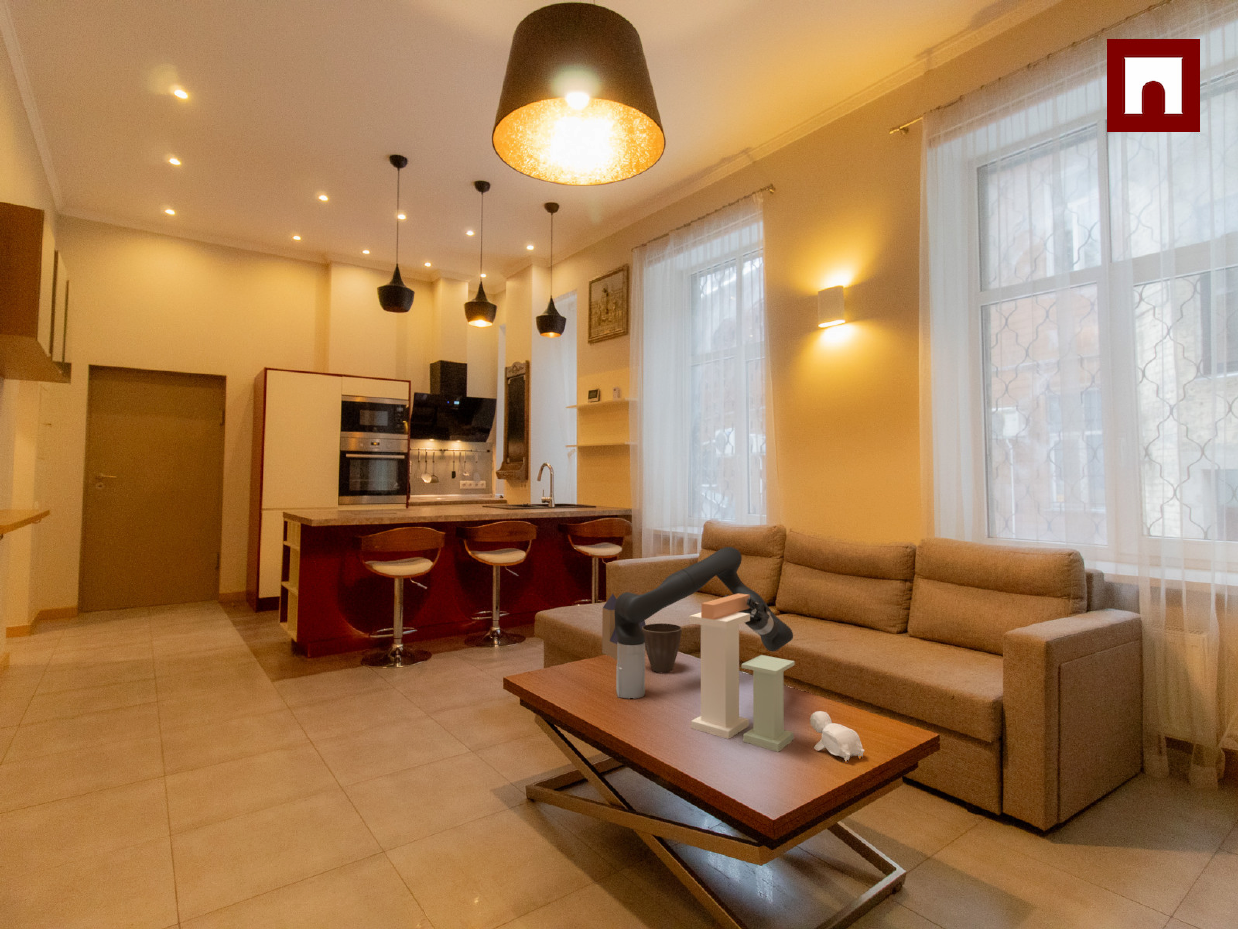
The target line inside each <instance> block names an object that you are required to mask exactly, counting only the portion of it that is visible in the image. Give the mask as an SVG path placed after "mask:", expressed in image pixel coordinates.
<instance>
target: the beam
mask: <svg viewBox="0 0 1238 929" xmlns="http://www.w3.org/2000/svg"><path fill="white" fill-rule="evenodd" d="M748 598H750V595H747V594H739V593H738V594H732V595H728V596H727V597H724V596H723V597H720V598H716V599H713V600H710V601H704V602H701V604H700V605H701V606H700V607H701V610H700V612H701V618H707V619H713V620H714V619H717V618H720V617H723V616H727V615H730V614H733V613H736V612H739V611H742V610H745V609H748V608H750V607H749V606H748V605H747V599H748Z"/></svg>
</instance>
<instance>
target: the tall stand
mask: <svg viewBox="0 0 1238 929" xmlns="http://www.w3.org/2000/svg"><path fill="white" fill-rule="evenodd" d="M688 620H689V623H688V624H694V625H700V716H698V717H696V718H693V719H692V720H691V721H690V728H691V729H693V730H696V731H700V732H704V733H706V732H707V734H710V735H713V736H715V737H720V738H724V739H727V740H729V739H731V738H733V737H734V736H735V735H737V734H739V733H740V732H741V731H743V730H745V729H746V728H748V727H749V724H750V722H749V720H750V719H749V718H746V717H742V716H740V625H741V624H745V622H748V621H750V614H748V613H741V612H736V613H733V614H730V615H727V616H723V617H720V618H717V619H714V620H713V619H707V618H701V611H700V612H698V613H695V614H691V615H689V619H688ZM747 726H748V727H747ZM738 732H739V733H738Z"/></svg>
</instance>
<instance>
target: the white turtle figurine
mask: <svg viewBox="0 0 1238 929" xmlns="http://www.w3.org/2000/svg"><path fill="white" fill-rule="evenodd" d="M809 722H810V723H809V724H810V726H811V728H812V729H813V730H815V732H816V733H818V734H821V739H820V740H819V741H818V742H816V744H815V746H813V749H816V750H818V751H817V752H819V751H821V750H824V749H826V750H827V751H828V752H829V753H830V754H831V755H834V756H839V757H840V758H843V759H844V760H845V761H847V760H848V761H849V760H850V758H851V757H855V756H858V757H859V756H862V757H864V755H863V754H864V752H865V749H864V748H863V745H862V742H861V739H860V735H859V734H858V733H857V731H856V730H854V729H852V728H850V727H847V726H844V725H843V724H840V723H835V722H832V719H831V717H830V715H829V713H828V712H827V711H823V710H822V711H821V710H818V711H814V712H813V713H812V714H811V715H810V718H809ZM850 756H851V757H850ZM844 760H843V761H844Z"/></svg>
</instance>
